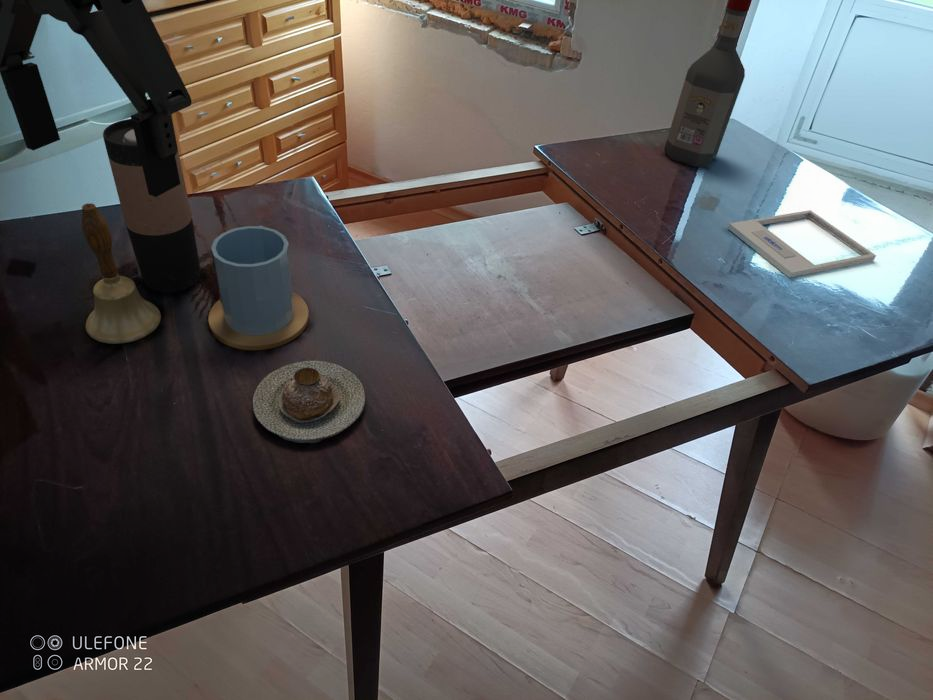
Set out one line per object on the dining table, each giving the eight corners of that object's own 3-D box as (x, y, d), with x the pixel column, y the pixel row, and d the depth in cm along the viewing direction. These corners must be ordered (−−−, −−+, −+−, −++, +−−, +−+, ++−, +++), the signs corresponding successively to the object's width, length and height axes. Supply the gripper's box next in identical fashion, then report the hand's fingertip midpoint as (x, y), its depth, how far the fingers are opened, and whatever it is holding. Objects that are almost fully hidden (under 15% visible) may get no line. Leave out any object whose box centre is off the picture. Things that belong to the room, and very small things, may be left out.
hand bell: (173, 326, 83) (144, 209, 72) (103, 354, 78) (62, 233, 68) (143, 293, 87) (111, 178, 77) (74, 317, 82) (32, 199, 72)
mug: (290, 336, 82) (283, 267, 76) (217, 334, 81) (204, 264, 75) (300, 281, 91) (294, 214, 84) (235, 278, 90) (224, 211, 83)
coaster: (187, 328, 83) (186, 323, 82) (252, 279, 91) (251, 275, 91) (268, 363, 80) (267, 358, 79) (327, 309, 88) (327, 304, 88)
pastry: (232, 399, 75) (226, 368, 72) (323, 354, 82) (321, 324, 79) (295, 465, 69) (291, 434, 66) (387, 410, 76) (388, 379, 73)
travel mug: (128, 285, 88) (85, 136, 75) (164, 255, 94) (131, 112, 81) (180, 299, 87) (146, 151, 74) (214, 268, 92) (188, 125, 79)
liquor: (705, 171, 130) (765, -1, 110) (659, 156, 133) (710, -13, 113) (718, 155, 136) (777, -10, 116) (674, 141, 139) (724, -22, 119)
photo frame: (729, 222, 113) (810, 209, 119) (727, 228, 114) (808, 214, 120) (792, 271, 103) (876, 254, 109) (789, 277, 104) (873, 260, 110)
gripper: (-171, -168, 45) (-43, 141, 58) (119, -101, 38) (186, 230, 52) (-59, -171, 50) (34, 113, 64) (214, -113, 43) (251, 191, 57)
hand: (102, 166), depth 58 cm, fingers open, 13 cm apart
